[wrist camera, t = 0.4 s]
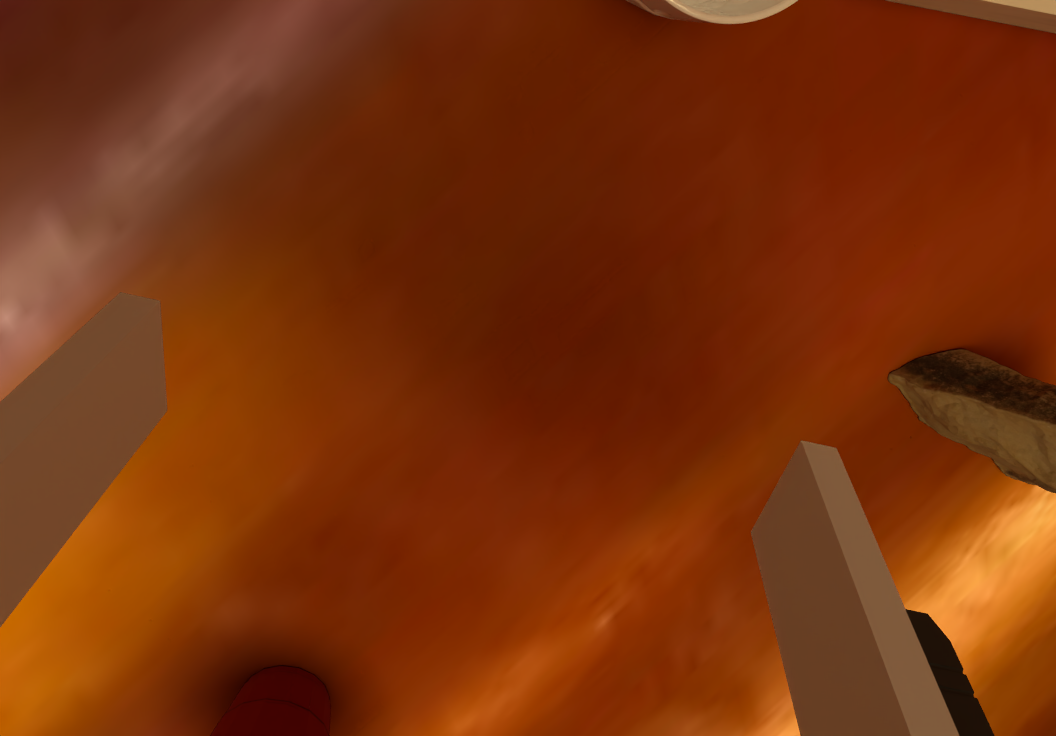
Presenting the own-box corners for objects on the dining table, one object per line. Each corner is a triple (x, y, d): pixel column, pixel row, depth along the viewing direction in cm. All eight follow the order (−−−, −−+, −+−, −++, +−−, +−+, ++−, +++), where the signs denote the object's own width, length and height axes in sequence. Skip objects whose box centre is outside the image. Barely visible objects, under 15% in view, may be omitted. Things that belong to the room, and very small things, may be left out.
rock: (1119, 472, 43) (1133, 328, 38) (1118, 589, 38) (1135, 439, 33) (910, 451, 50) (899, 325, 45) (884, 548, 44) (868, 418, 39)
